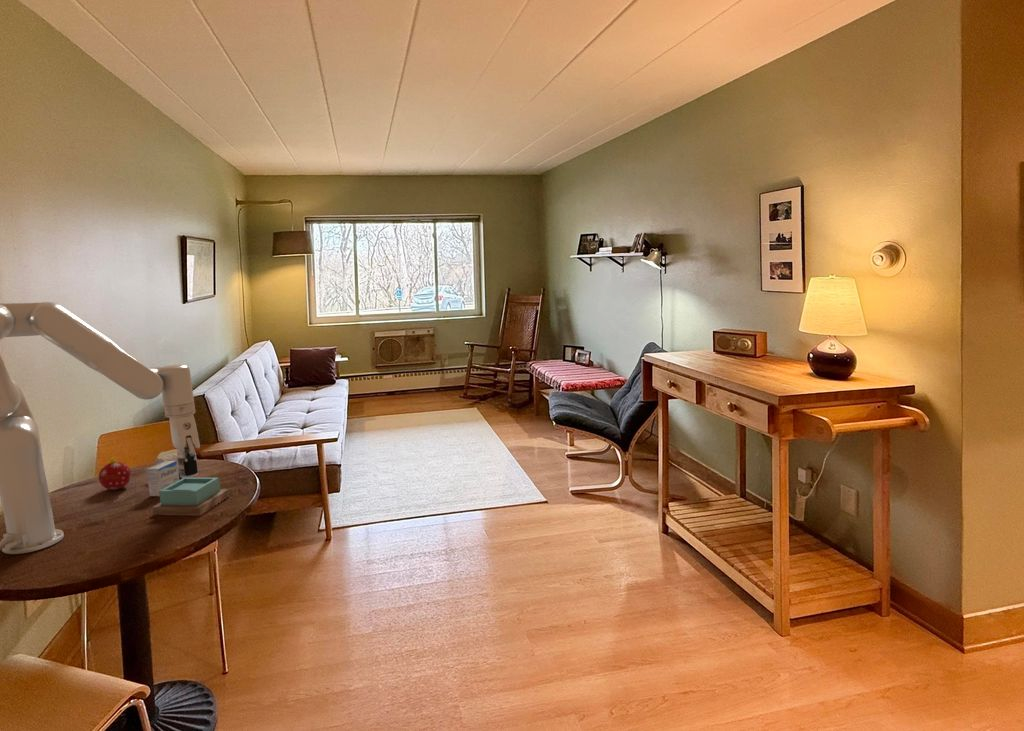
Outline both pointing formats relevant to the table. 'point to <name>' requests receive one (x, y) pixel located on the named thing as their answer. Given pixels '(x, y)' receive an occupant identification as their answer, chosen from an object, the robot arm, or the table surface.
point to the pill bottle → (181, 464)
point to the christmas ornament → (114, 475)
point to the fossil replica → (167, 457)
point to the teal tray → (189, 491)
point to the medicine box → (162, 476)
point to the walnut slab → (191, 506)
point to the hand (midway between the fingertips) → (188, 471)
